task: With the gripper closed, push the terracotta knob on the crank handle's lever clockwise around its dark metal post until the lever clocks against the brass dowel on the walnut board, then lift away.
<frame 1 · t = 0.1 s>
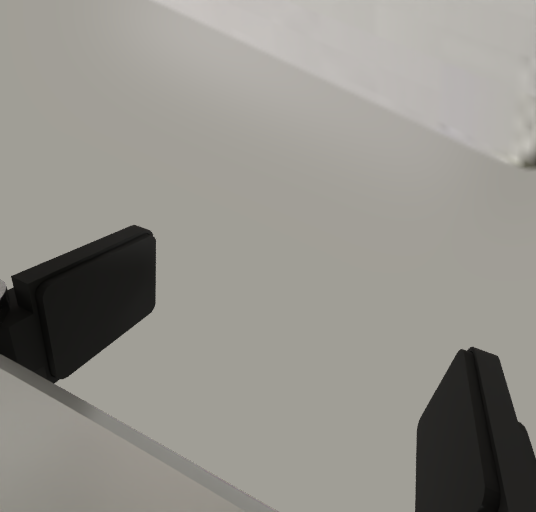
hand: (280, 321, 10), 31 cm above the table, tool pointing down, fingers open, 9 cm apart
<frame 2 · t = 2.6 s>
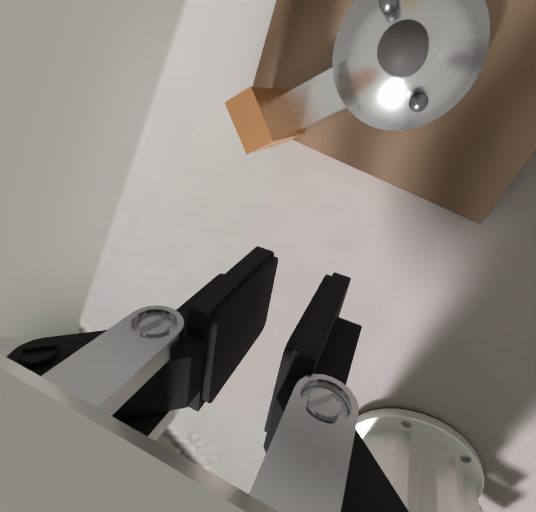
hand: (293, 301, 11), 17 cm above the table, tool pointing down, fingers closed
crank handle: (355, 74, 19), point 5 cm above the table, hinge at 0.0°
walnut board: (406, 60, 21), on the table
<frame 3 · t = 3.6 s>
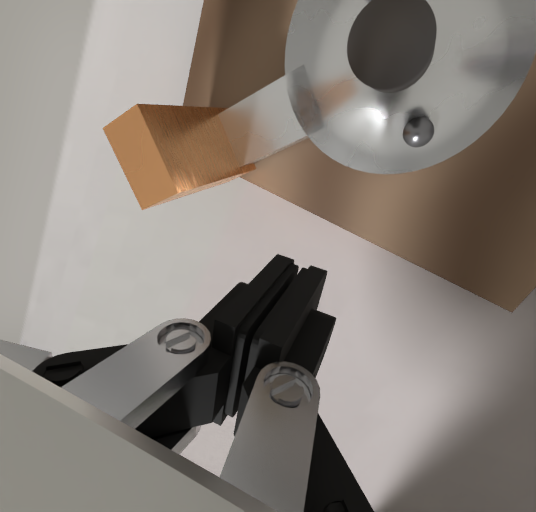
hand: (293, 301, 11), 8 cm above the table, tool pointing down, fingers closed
crank handle: (315, 86, 11), point 5 cm above the table, hinge at 0.0°
walnut board: (401, 66, 14), on the table
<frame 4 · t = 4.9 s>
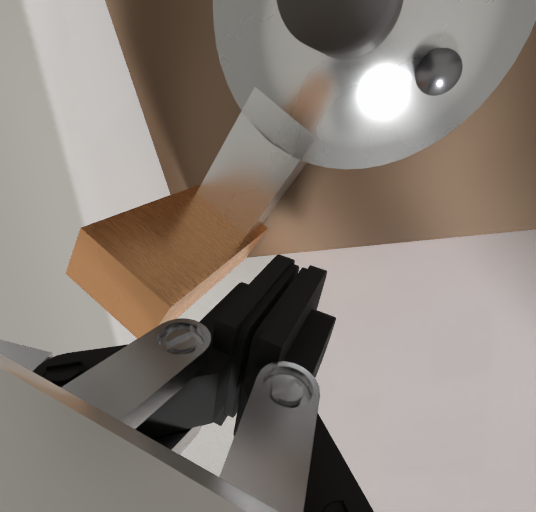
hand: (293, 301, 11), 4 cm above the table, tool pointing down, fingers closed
crank handle: (274, 95, 8), point 5 cm above the table, hinge at -5.2°, touching gripper
walnut board: (370, 29, 11), on the table
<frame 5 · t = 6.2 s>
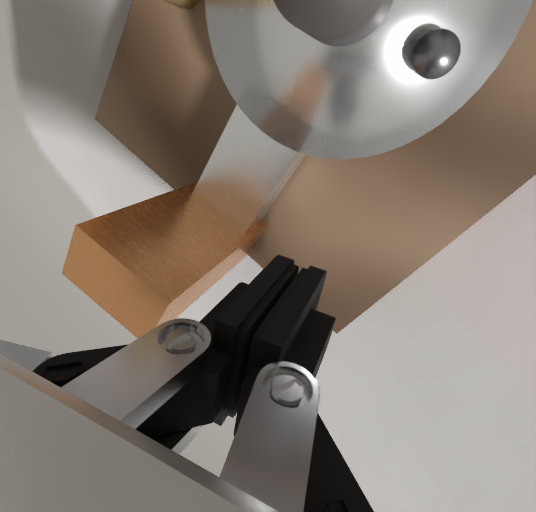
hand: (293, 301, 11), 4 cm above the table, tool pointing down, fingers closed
crank handle: (269, 84, 8), point 5 cm above the table, hinge at -42.1°, touching gripper
walnut board: (364, 18, 11), on the table
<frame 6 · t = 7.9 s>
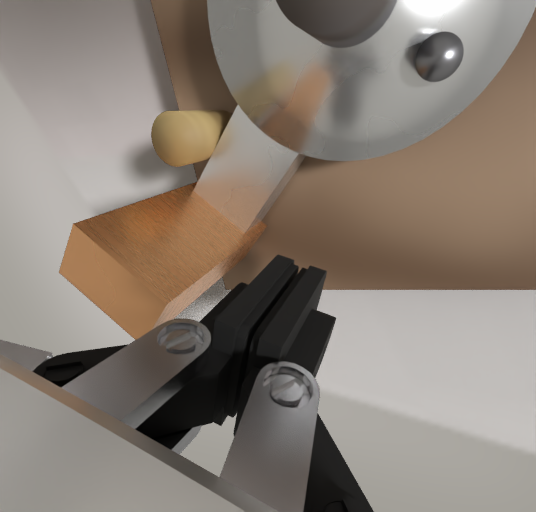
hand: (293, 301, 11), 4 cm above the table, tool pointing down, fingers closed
crank handle: (271, 84, 8), point 5 cm above the table, hinge at -91.0°, touching gripper
walnut board: (367, 20, 11), on the table
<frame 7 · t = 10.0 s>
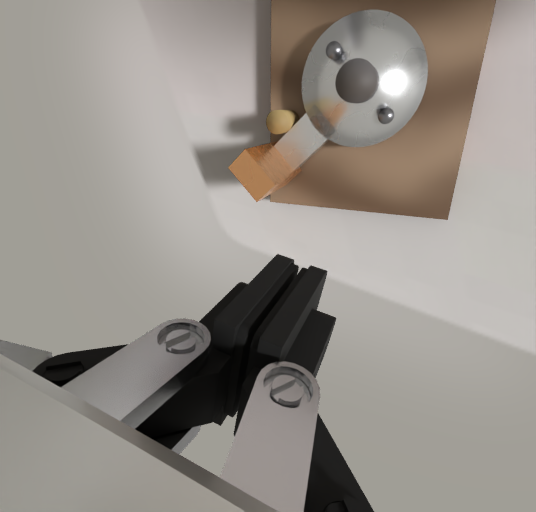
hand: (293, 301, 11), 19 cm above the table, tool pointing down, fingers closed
crank handle: (325, 112, 22), point 5 cm above the table, hinge at -91.0°, touching walnut board
walnut board: (366, 86, 25), on the table
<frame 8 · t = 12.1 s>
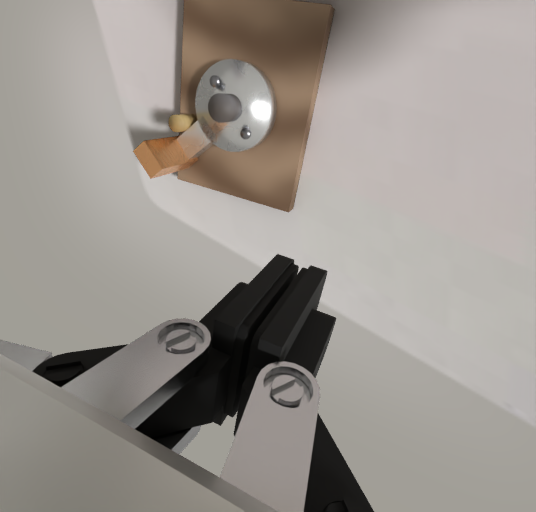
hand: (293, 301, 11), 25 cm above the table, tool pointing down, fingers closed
crank handle: (204, 124, 32), point 5 cm above the table, hinge at -91.0°, touching walnut board
walnut board: (246, 107, 35), on the table
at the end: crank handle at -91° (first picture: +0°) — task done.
